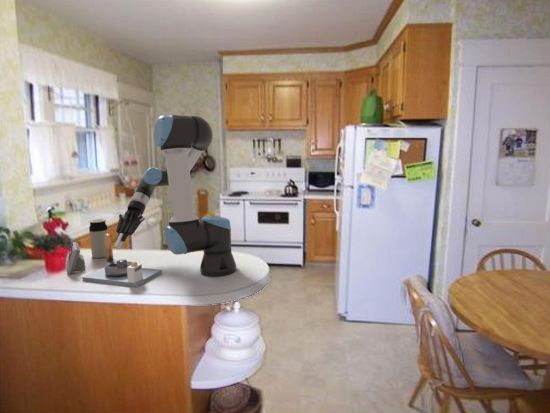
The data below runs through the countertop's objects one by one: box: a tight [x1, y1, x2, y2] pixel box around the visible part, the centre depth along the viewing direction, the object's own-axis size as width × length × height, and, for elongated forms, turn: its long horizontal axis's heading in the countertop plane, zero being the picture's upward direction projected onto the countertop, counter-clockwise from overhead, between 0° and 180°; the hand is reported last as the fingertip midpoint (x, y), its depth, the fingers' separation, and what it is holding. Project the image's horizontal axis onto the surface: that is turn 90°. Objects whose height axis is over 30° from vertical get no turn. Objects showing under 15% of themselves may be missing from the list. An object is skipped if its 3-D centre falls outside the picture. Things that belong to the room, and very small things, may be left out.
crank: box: [104, 233, 133, 277], centre depth 157 cm, size 17×12×14 cm
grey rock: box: [65, 241, 86, 275], centre depth 167 cm, size 16×9×11 cm, turn 18°
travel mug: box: [88, 218, 109, 259], centre depth 185 cm, size 8×8×18 cm
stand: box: [82, 261, 163, 288], centre depth 155 cm, size 26×16×9 cm, turn 72°
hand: (117, 247), depth 167 cm, fingers closed
